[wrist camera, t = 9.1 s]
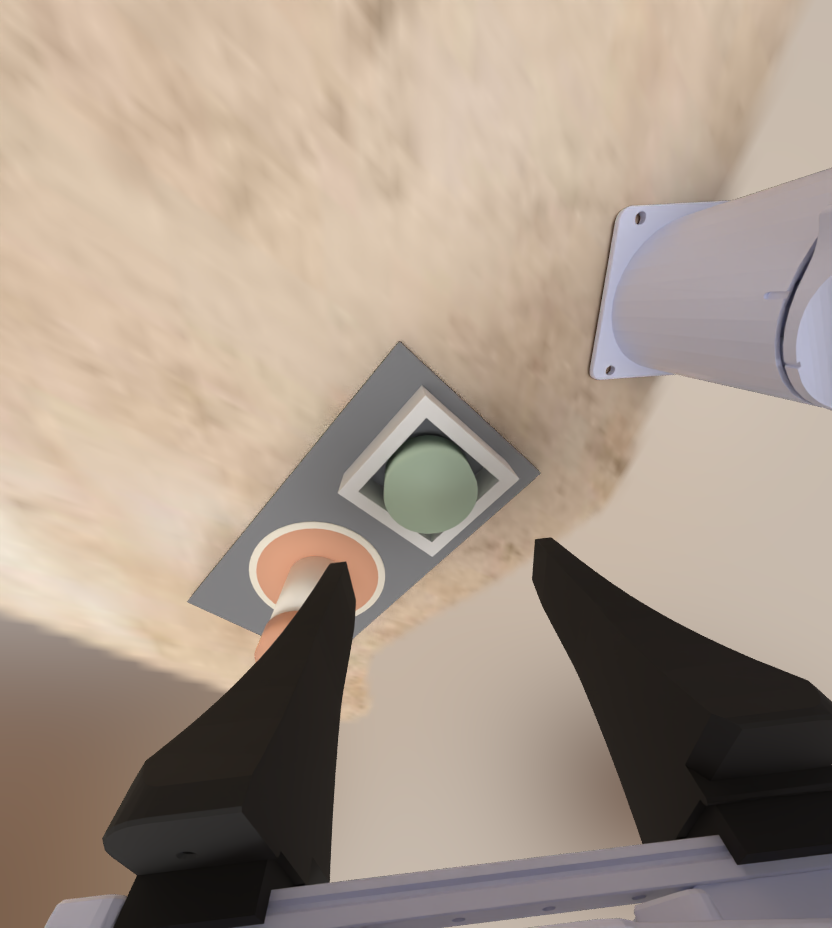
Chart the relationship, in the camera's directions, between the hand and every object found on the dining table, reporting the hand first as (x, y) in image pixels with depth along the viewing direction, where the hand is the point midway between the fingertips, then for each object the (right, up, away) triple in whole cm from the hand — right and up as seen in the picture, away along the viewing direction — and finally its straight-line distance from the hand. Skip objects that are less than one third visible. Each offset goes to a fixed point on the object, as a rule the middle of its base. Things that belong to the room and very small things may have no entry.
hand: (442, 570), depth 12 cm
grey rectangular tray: (-5, -1, +11) cm, 12 cm away
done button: (0, +3, +7) cm, 8 cm away
